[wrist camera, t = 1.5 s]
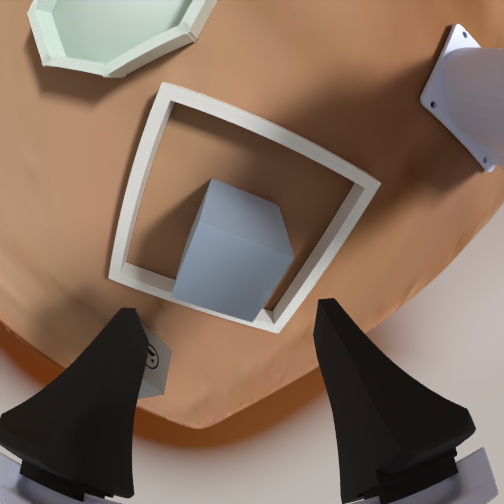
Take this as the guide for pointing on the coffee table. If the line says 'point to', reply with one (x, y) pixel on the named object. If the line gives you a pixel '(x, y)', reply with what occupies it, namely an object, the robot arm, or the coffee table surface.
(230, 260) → the slate block
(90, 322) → the coffee table surface
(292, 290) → the white flat frame piece
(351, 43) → the coffee table surface
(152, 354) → the dice cube
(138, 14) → the ceramic dish
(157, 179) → the coffee table surface
